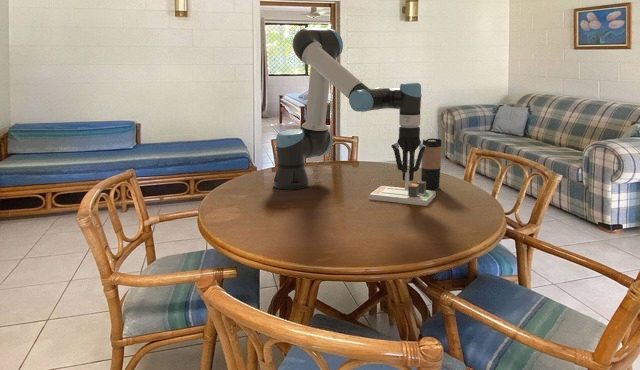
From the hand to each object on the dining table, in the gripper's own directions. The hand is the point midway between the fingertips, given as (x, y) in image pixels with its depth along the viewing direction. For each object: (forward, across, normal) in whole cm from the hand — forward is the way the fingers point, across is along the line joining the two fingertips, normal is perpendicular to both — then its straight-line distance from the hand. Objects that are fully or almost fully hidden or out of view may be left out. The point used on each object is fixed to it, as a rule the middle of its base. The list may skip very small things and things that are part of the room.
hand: (407, 188), depth 182 cm
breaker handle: (+2, +2, 0) cm, 3 cm away
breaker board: (+5, -3, +3) cm, 6 cm away
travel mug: (+5, +3, +22) cm, 23 cm away
